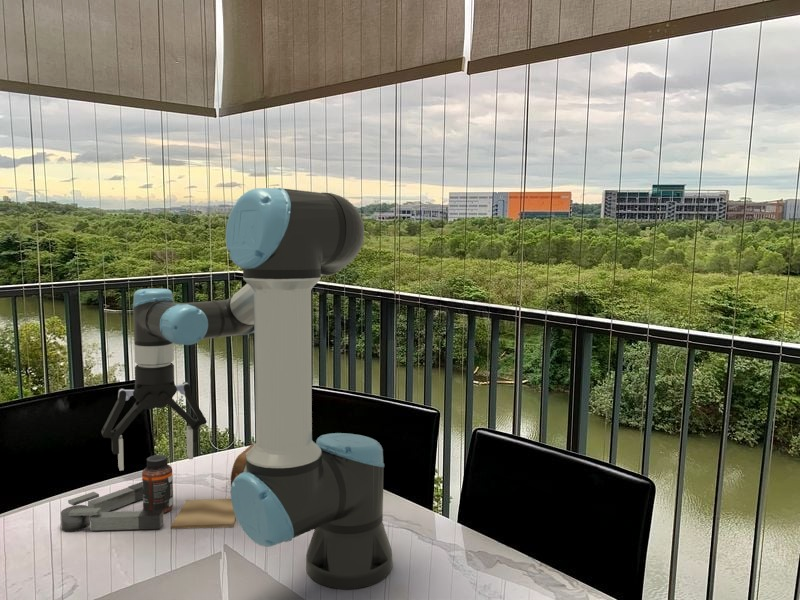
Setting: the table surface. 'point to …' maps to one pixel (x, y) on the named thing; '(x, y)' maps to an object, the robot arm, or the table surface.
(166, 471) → the supplement bottle
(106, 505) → the tong jaw
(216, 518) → the cork mat
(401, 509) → the table surface
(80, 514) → the tongs base
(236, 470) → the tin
